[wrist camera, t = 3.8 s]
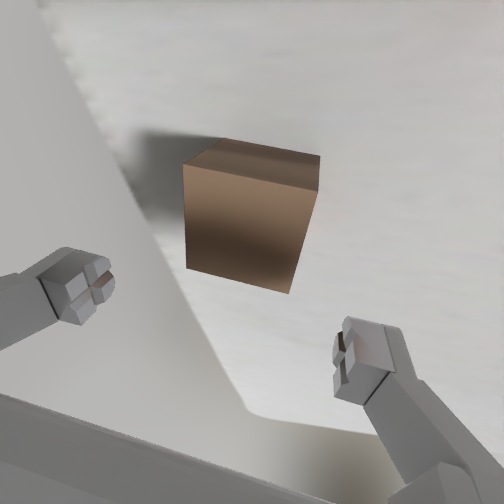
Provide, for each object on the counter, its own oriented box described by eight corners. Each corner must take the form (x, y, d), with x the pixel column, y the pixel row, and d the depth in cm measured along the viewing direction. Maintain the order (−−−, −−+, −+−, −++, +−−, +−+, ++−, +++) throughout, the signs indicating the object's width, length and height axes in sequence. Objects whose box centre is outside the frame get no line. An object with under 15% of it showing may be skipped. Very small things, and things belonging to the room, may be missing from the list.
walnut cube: (225, 137, 13) (182, 164, 9) (320, 155, 13) (318, 191, 9) (220, 221, 16) (186, 268, 12) (297, 238, 16) (288, 294, 12)
